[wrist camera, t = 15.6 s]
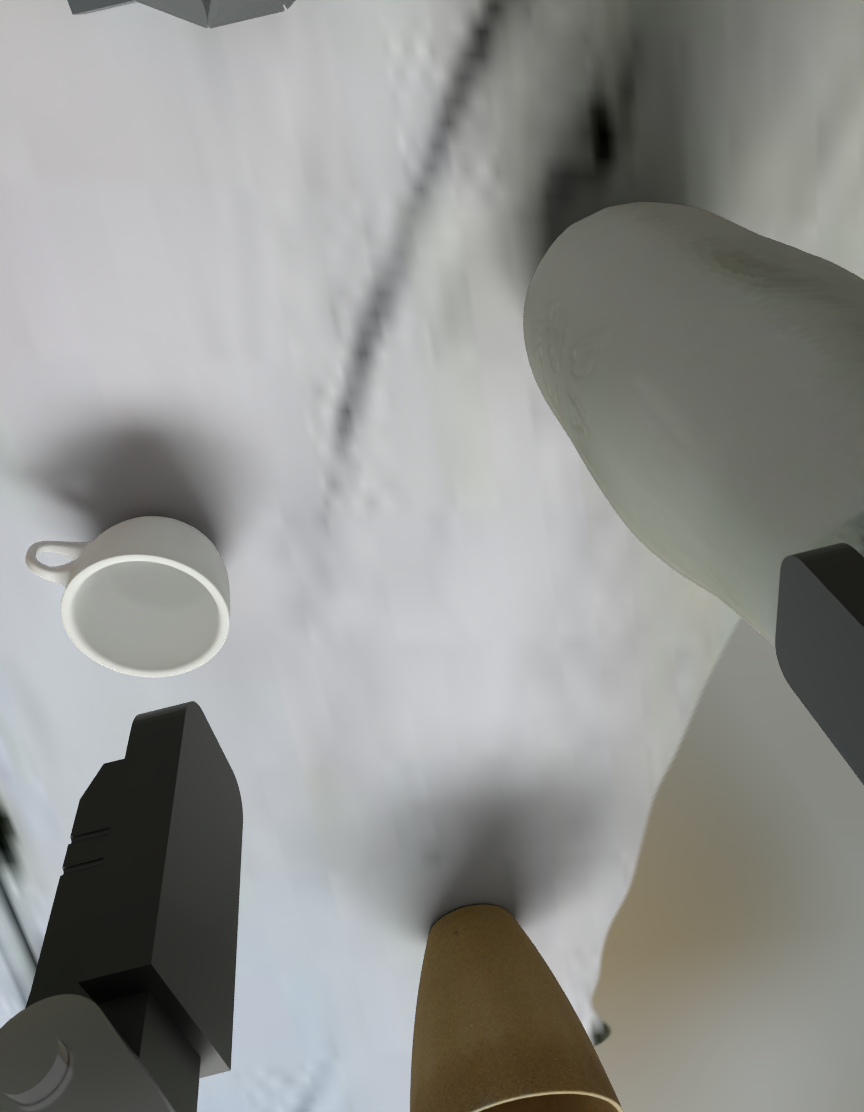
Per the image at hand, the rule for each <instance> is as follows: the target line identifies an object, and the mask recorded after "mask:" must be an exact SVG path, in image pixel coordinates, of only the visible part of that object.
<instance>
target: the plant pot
mask: <svg viewBox="0 0 864 1112" xmlns="http://www.w3.org/2000/svg"><path fill="white" fill-rule="evenodd" d="M410 1112H623V1110H622V1107H621V1105H620V1103H619V1101H618V1098H617V1096H616V1094H615V1092H614V1089H613V1087H612V1085H611V1083H610V1081H609V1079H608V1077H607V1074H606V1073H605V1070H604V1068H603V1066H602V1064H601V1062H600V1060H599V1057H598V1055H597V1053H596V1051H595V1049H594V1047H593V1045H592V1043H591V1041H590V1039H589V1037H588V1035H587V1033H586V1031H585V1029H584V1027H583V1025H582V1023H581V1021H580V1020H579V1018H578V1016H577V1014H576V1012H575V1011H574V1009H573V1007H572V1005H571V1003H570V1002H569V1000H568V998H567V996H566V995H565V993H564V991H563V990H562V988H561V986H560V985H559V983H558V981H557V980H556V978H555V976H554V975H553V973H552V972H551V970H550V968H549V967H548V965H547V964H546V962H545V961H544V959H543V958H542V956H541V955H540V953H539V952H538V950H537V949H536V947H535V946H534V944H533V943H532V941H531V940H530V939H529V937H528V936H527V935H526V933H525V932H524V930H523V929H522V928H521V926H520V925H519V924H518V922H517V921H516V920H515V918H514V917H513V916H512V914H511V913H510V912H508V911H507V910H505V909H504V908H502V907H499V906H495V905H484V904H480V905H471V906H466V907H463V908H460V909H457V910H454V911H452V912H450V913H448V914H446V915H445V916H443V917H442V918H441V919H439V920H438V921H437V922H436V923H435V924H434V925H433V927H432V928H431V930H430V932H429V936H428V940H427V945H426V950H425V955H424V960H423V965H422V971H421V977H420V984H419V990H418V997H417V1005H416V1014H415V1024H414V1035H413V1048H412V1064H411V1088H410Z"/></svg>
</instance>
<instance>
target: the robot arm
mask: <svg viewBox="0 0 864 1112" xmlns="http://www.w3.org/2000/svg"><path fill="white" fill-rule="evenodd" d="M775 648H776V654H777V658H778V662H779V665H780V668H781V670H782V672H783V675H784V677H785V679H786V681H787V682H788V684H789V685H790V687H791V688H792V690H793V691H794V692H795V693H796V695H797V696H798V697H799V699H800V700H801V702H802V703H803V704H804V706H805V707H806V708H807V709H808V711H809V712H810V714H811V715H812V716H813V718H814V719H815V720H816V721H817V723H818V724H819V726H820V727H821V728H822V730H823V731H824V732H825V734H826V735H827V736H828V738H829V739H830V740H831V742H832V743H833V744H834V746H835V747H836V748H837V750H838V751H839V752H840V754H841V755H842V756H843V758H844V759H845V760H846V762H847V763H848V765H849V766H850V767H851V768H852V770H853V771H854V773H855V774H856V775H857V777H858V778H859V779H860V780H861V782H862V783H863V785H864V557H863V556H862V555H861V554H860V553H859V552H858V551H857V550H856V549H854V548H853V547H852V546H850V545H849V544H846V543H837V544H833V545H829V546H825V547H821V548H817V549H813V550H809V551H805V552H801V553H797V554H793V555H789V556H787V557H785V558H784V559H783V561H782V564H781V568H780V579H779V593H778V607H777V620H776V634H775ZM242 829H243V810H242V802H241V796H240V791H239V787H238V784H237V780H236V778H235V775H234V773H233V771H232V769H231V767H230V765H229V763H228V761H227V759H226V757H225V755H224V753H223V751H222V749H221V747H220V745H219V743H218V741H217V739H216V737H215V735H214V733H213V731H212V729H211V727H210V725H209V723H208V721H207V719H206V717H205V715H204V713H203V711H202V710H201V708H200V706H199V705H198V704H197V703H196V702H194V701H191V702H187V703H183V704H179V705H175V706H171V707H167V708H163V709H159V710H155V711H151V712H147V713H143V714H139V715H137V716H136V717H135V719H134V721H133V723H132V727H131V732H130V736H129V741H128V746H127V751H126V755H125V759H122V760H118V761H114V762H109V763H105V764H103V766H102V767H101V769H100V770H99V772H98V773H97V775H96V776H95V778H94V779H93V781H92V782H91V784H90V785H89V787H88V788H87V790H86V791H85V793H84V794H83V796H82V797H81V799H80V801H79V805H78V809H77V813H76V817H75V821H74V825H73V829H72V833H71V836H70V837H71V841H72V842H71V844H68V848H67V852H66V856H65V860H64V864H63V871H64V874H63V875H62V876H60V879H59V883H58V887H57V891H56V895H55V899H54V903H53V907H52V910H51V914H50V918H49V922H48V926H47V930H46V934H45V938H44V942H43V946H42V949H41V953H40V957H39V961H38V965H37V969H36V973H35V977H34V981H33V985H32V988H31V992H30V995H29V999H28V1002H27V1005H26V1007H25V1009H24V1010H22V1011H20V1012H19V1013H18V1014H17V1015H15V1016H14V1017H13V1018H11V1019H10V1020H9V1021H8V1022H7V1023H6V1024H5V1025H4V1026H3V1027H2V1028H0V1112H197V1100H198V1087H199V1078H202V1077H206V1076H210V1075H214V1074H218V1073H222V1072H225V1071H229V1070H231V1051H232V1031H233V1011H234V990H235V970H236V950H237V930H238V910H239V890H240V869H241V849H242Z"/></svg>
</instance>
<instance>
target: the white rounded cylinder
mask: <svg viewBox="0 0 864 1112" xmlns="http://www.w3.org/2000/svg"><path fill="white" fill-rule="evenodd" d="M523 327H524V339H525V345H526V351H527V355H528V359H529V363H530V366H531V369H532V372H533V375H534V377H535V380H536V382H537V385H538V387H539V389H540V391H541V393H542V395H543V397H544V399H545V400H546V402H547V404H548V405H549V407H550V409H551V410H552V412H553V413H554V415H555V416H556V418H557V419H558V421H559V422H560V424H561V426H562V427H563V429H564V430H565V432H566V433H567V435H568V436H569V438H570V439H571V441H572V443H573V445H574V446H575V448H576V450H577V451H578V453H579V455H580V457H581V458H582V460H583V462H584V464H585V465H586V467H587V469H588V470H589V472H590V474H591V475H592V477H593V478H594V480H595V482H596V483H597V485H598V486H599V488H600V489H601V491H602V492H603V494H604V495H605V497H606V498H607V500H608V501H609V503H610V504H611V506H612V507H613V509H614V510H615V511H616V513H617V514H618V515H619V517H620V518H621V519H622V521H623V522H624V523H625V525H626V526H627V527H628V528H629V529H630V531H631V532H632V533H633V534H634V535H635V536H636V537H637V538H638V539H639V541H640V542H642V543H643V544H644V545H645V546H646V547H647V548H648V549H649V550H650V551H651V552H652V553H654V554H655V555H656V556H657V557H658V558H660V559H661V560H662V561H663V562H665V563H666V564H667V565H668V566H670V567H671V568H672V569H674V570H675V571H676V572H678V573H679V574H681V575H682V576H684V577H685V578H687V579H688V580H690V581H692V582H693V583H695V584H697V585H698V586H700V587H702V588H703V589H705V590H707V591H708V592H710V593H711V594H713V595H715V596H716V597H718V598H719V599H721V600H722V601H723V602H724V603H725V604H727V605H728V606H729V607H730V608H731V609H732V610H734V611H735V612H736V613H737V614H738V615H739V616H741V617H742V618H743V619H744V620H745V621H747V622H748V623H749V624H750V625H751V626H752V627H753V628H755V629H756V630H757V631H758V632H760V634H762V635H763V636H764V637H765V638H766V639H768V640H769V641H770V642H771V643H772V644H773V645H774V646H775V634H776V620H777V607H778V593H779V579H780V568H781V564H782V561H783V559H784V558H785V557H787V556H789V555H793V554H797V553H801V552H805V551H809V550H813V549H817V548H821V547H825V546H829V545H833V544H837V543H846V544H849V545H850V546H852V547H853V548H854V549H856V550H857V551H858V552H859V553H860V554H861V555H862V556H863V557H864V280H863V279H861V278H860V277H858V276H857V275H855V274H853V273H851V272H849V271H847V270H846V269H844V268H842V267H840V266H838V265H836V264H834V263H832V262H830V261H828V260H825V259H823V258H820V257H818V256H814V255H812V254H809V253H806V252H804V251H801V250H799V249H797V248H794V247H792V246H789V245H786V244H783V243H781V242H778V241H775V240H772V239H770V238H767V237H764V236H761V235H758V234H756V233H754V232H752V231H750V230H748V229H746V228H743V227H741V226H739V225H737V224H735V223H733V222H731V221H729V220H727V219H725V218H722V217H720V216H718V215H716V214H713V213H710V212H708V211H705V210H702V209H699V208H695V207H691V206H686V205H679V204H672V203H658V202H634V203H628V204H623V205H617V206H611V207H606V208H604V209H602V210H600V211H598V212H596V213H594V214H592V215H590V216H588V217H586V218H584V219H582V220H580V221H578V222H576V223H574V224H572V225H571V226H569V227H568V228H567V229H566V230H565V231H564V232H563V233H562V234H561V235H560V236H559V237H558V238H557V239H556V240H555V241H554V242H553V244H552V245H551V246H550V248H549V249H548V251H547V252H546V254H545V255H544V257H543V258H542V260H541V262H540V263H539V265H538V267H537V269H536V271H535V273H534V275H533V277H532V279H531V282H530V285H529V287H528V291H527V295H526V300H525V306H524V317H523Z"/></svg>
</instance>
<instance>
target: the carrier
mask: <svg viewBox="0 0 864 1112" xmlns="http://www.w3.org/2000/svg"><path fill="white" fill-rule="evenodd" d="M294 1H295V0H68V3H69V6H70V8H71V11H72V14H73V15H77V14H87V13H91V12H95V11H99V10H104V9H108V8H112V7H117V6H121V5H125V4H130V3H134V2H139V3H142V4H145V5H147V6H150V7H152V8H155V9H158V10H160V11H163V12H166V13H168V14H171V15H173V16H176V17H179V18H181V19H184V20H187V21H189V22H192V23H194V24H197V25H200V26H202V27H205V28H208V27H209V26H210V28H214V27H218V26H222V25H226V24H231V23H235V22H239V21H244V20H248V19H252V18H256V17H261V16H265V15H269V14H274V13H278V12H282V11H284V7H283V4H284V5H285V6H286V8H287V9H288V8H289V7H290V6H291V5H292V4H293V2H294Z"/></svg>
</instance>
